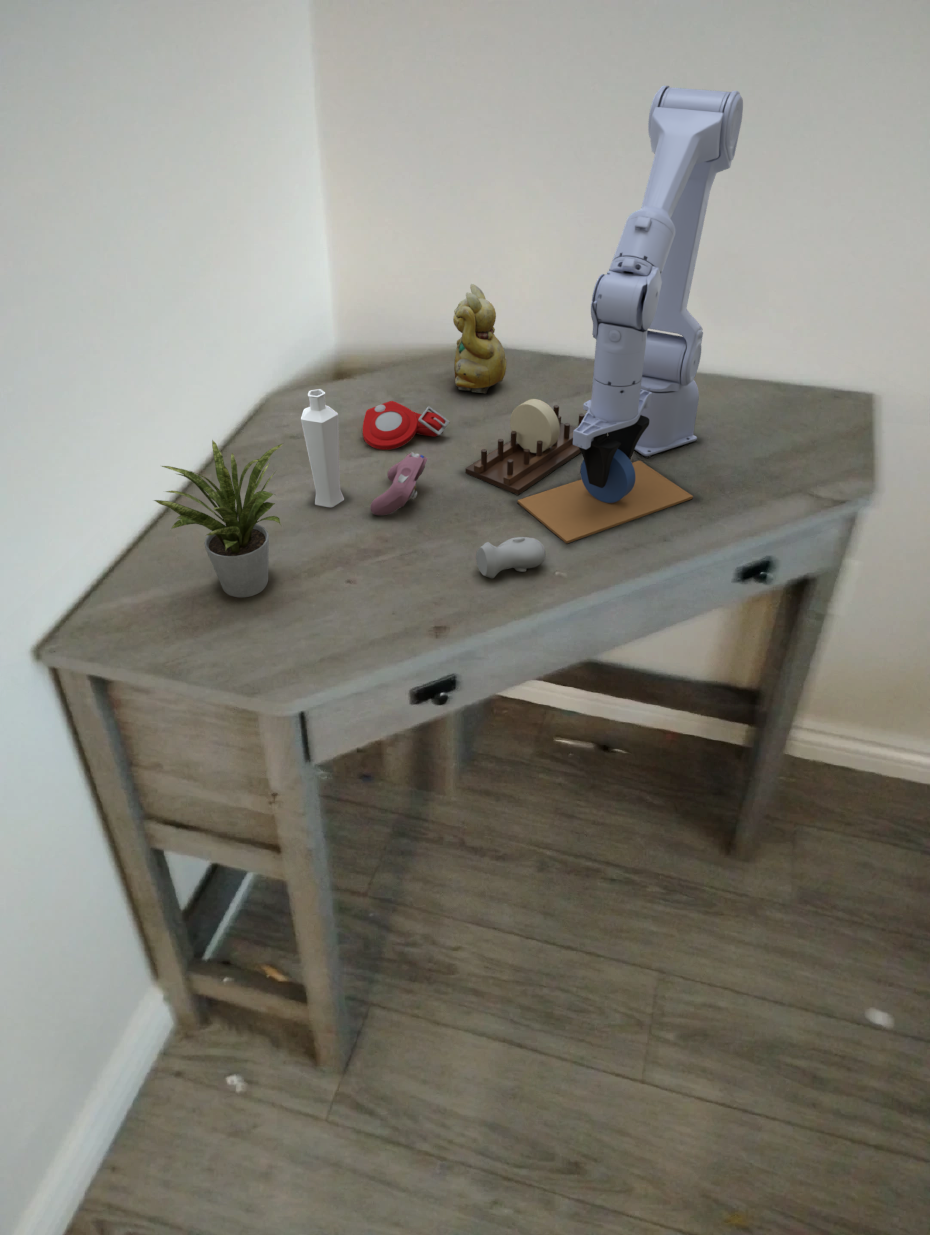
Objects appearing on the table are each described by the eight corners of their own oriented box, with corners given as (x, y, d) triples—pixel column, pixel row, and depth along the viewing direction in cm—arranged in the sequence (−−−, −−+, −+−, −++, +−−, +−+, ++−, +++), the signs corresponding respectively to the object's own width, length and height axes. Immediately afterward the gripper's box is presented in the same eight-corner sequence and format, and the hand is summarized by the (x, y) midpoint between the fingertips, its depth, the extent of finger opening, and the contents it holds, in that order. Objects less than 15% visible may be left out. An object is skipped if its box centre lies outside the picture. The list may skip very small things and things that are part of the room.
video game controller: (398, 530, 119) (420, 490, 114) (365, 513, 118) (387, 472, 113) (416, 490, 126) (437, 451, 122) (386, 474, 125) (407, 434, 121)
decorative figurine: (457, 370, 152) (456, 278, 142) (508, 372, 151) (509, 279, 142) (450, 396, 144) (448, 300, 135) (503, 398, 144) (505, 302, 134)
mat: (639, 462, 128) (639, 460, 128) (692, 498, 121) (693, 496, 121) (517, 502, 121) (517, 500, 120) (566, 543, 113) (566, 541, 113)
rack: (546, 422, 138) (548, 398, 135) (598, 440, 133) (600, 416, 131) (465, 473, 127) (464, 448, 124) (518, 495, 122) (518, 469, 120)
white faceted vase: (352, 493, 123) (341, 387, 113) (338, 510, 120) (326, 402, 110) (320, 487, 124) (307, 382, 114) (306, 504, 121) (291, 397, 111)
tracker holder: (371, 450, 129) (348, 405, 135) (378, 471, 133) (355, 427, 138) (451, 418, 131) (425, 375, 136) (455, 440, 134) (430, 397, 140)
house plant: (250, 530, 116) (228, 410, 106) (334, 566, 110) (320, 442, 100) (161, 587, 107) (128, 462, 97) (248, 630, 101) (222, 501, 91)
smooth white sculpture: (536, 561, 112) (550, 573, 108) (472, 570, 111) (484, 583, 106) (534, 526, 111) (549, 537, 106) (469, 535, 109) (481, 547, 104)
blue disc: (587, 486, 123) (591, 438, 118) (632, 504, 119) (638, 455, 115) (578, 492, 122) (582, 444, 117) (624, 510, 118) (630, 461, 114)
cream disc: (517, 438, 132) (519, 392, 127) (558, 454, 128) (561, 407, 124) (509, 444, 130) (510, 398, 126) (550, 459, 127) (552, 412, 122)
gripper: (621, 348, 116) (611, 445, 125) (554, 388, 108) (548, 489, 116) (671, 363, 113) (657, 462, 121) (605, 405, 104) (596, 508, 113)
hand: (607, 476), depth 119 cm, fingers open, 4 cm apart
